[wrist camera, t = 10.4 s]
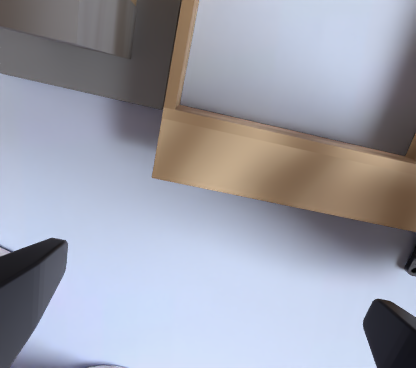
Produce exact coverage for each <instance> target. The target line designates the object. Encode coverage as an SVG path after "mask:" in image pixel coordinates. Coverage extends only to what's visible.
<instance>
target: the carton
mask: <svg viewBox="0 0 416 368" xmlns="http://www.w3.org/2000/svg"><path fill="white" fill-rule="evenodd" d="M198 4H199V0H182V3H181V9H180V15H179V20H178V26H177V32H176V38H175V44H174V50H173V56H172V62H171V67H170V73H169V79H168V85H167V91H166V97H165V103H164V108H163V114H162V120H161V126H160V132H159V138H158V144H157V149H156V155H155V161H154V167H153V173H152V178H156V179H160V180H165V181H170V182H175V183H180V184H185V185H189V186H194V187H199V188H204V189H209V190H214V191H219V192H223V193H228V194H233V195H238V196H243V197H248V198H253V199H257V200H262V201H267V202H272V203H277V204H282V205H286V206H291V207H296V208H301V209H306V210H311V211H316V212H320V213H325V214H330V215H335V216H340V217H345V218H350V219H354V220H359V221H364V222H369V223H374V224H379V225H383V226H388V227H393V228H398V229H403V230H408V231H413V232H416V133H415V136H414V138H413V140H412V142H411V144H410V147H409V149H408V151H407V153H406V155H405V156H402V155H397V154H393V153H389V152H384V151H380V150H376V149H371V148H367V147H362V146H358V145H354V144H349V143H345V142H341V141H336V140H332V139H327V138H323V137H319V136H314V135H310V134H306V133H301V132H297V131H292V130H288V129H284V128H279V127H275V126H271V125H266V124H262V123H257V122H253V121H249V120H244V119H240V118H236V117H231V116H227V115H223V114H218V113H214V112H209V111H205V110H201V109H196V108H192V107H188V106H183V105H180V100H181V95H182V90H183V84H184V79H185V74H186V68H187V63H188V58H189V52H190V47H191V41H192V36H193V31H194V25H195V20H196V15H197V9H198Z"/></svg>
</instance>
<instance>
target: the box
mask: <svg viewBox="0 0 416 368" xmlns="http://www.w3.org/2000/svg"><path fill="white" fill-rule="evenodd" d="M136 2H137V0H0V28H3V29H7V30H11V31H15V32H19V33H22V34H26V35H30V36H34V37H38V38H42V39H46V40H50V41H54V42H59V43H63V44H67V45H71V46H76V47H80V48H84V49H88V50H93V51H97V52H101V53H105V54H109V55H114V56H118V57H122V58H126V59H131V56H132V48H133V40H134V32H135V24H136V16H137V7H136Z"/></svg>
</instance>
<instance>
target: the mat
mask: <svg viewBox="0 0 416 368" xmlns="http://www.w3.org/2000/svg"><path fill="white" fill-rule="evenodd" d="M181 2H182V0H137V2H136V7H137V16H136V24H135V32H134V40H133V48H132V56H131V59H126V58H122V57H118V56H114V55H109V54H105V53H101V52H97V51H93V50H88V49H84V48H80V47H76V46H71V45H67V44H63V43H59V42H54V41H50V40H46V39H42V38H38V37H34V36H30V35H26V34H22V33H19V32H15V31H11V30H7V29H3V28H0V73H1V74H6V75H10V76H15V77H19V78H24V79H28V80H32V81H37V82H41V83H46V84H50V85H55V86H59V87H63V88H68V89H72V90H77V91H81V92H85V93H90V94H94V95H99V96H103V97H108V98H112V99H116V100H121V101H125V102H130V103H134V104H139V105H143V106H147V107H152V108H156V109H161V110H162V109H163V107H164V102H165V96H166V90H167V84H168V78H169V72H170V66H171V60H172V55H173V49H174V43H175V37H176V31H177V25H178V19H179V13H180V8H181Z"/></svg>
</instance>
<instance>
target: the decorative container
mask: <svg viewBox="0 0 416 368" xmlns="http://www.w3.org/2000/svg"><path fill="white" fill-rule="evenodd" d="M88 368H125V367H120V366H107V365H100V366H94V367H88Z"/></svg>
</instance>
